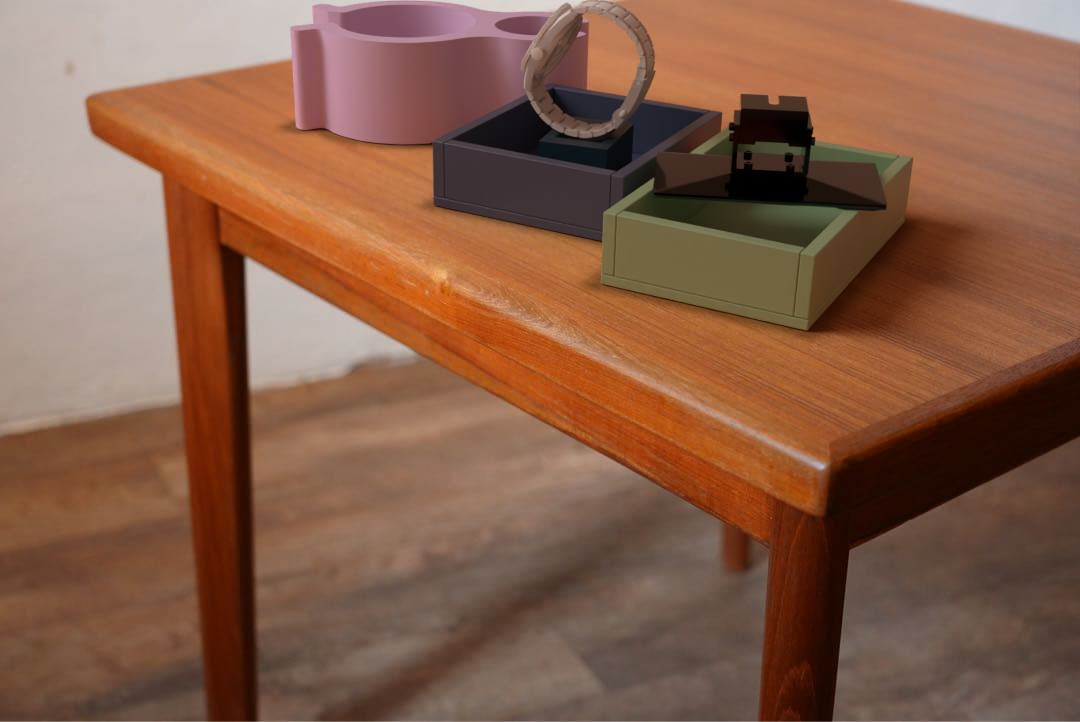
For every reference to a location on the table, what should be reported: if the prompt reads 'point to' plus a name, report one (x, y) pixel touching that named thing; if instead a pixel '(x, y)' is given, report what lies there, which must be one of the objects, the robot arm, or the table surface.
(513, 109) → the blue bin
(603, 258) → the green bin
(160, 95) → the table surface
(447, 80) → the pink double dish
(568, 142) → the watch
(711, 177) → the dark piece
